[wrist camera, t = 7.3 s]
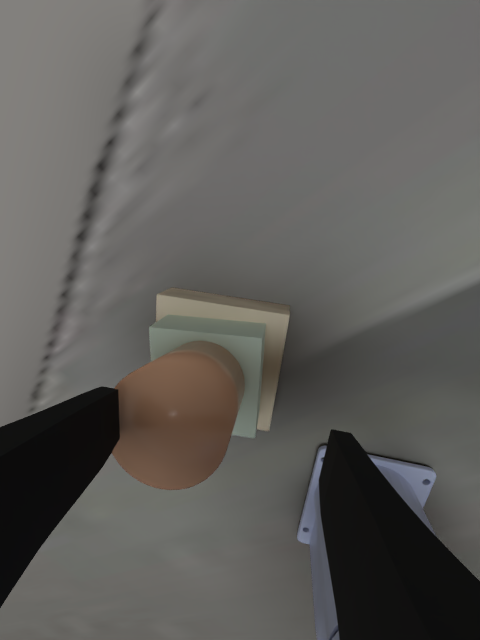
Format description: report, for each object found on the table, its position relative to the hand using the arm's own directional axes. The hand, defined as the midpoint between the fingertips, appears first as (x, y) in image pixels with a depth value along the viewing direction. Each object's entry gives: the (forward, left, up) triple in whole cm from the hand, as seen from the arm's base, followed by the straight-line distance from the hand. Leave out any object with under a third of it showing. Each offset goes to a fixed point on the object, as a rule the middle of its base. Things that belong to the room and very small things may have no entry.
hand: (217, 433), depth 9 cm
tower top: (-2, +2, -8) cm, 8 cm away
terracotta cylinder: (-1, +2, -5) cm, 6 cm away
